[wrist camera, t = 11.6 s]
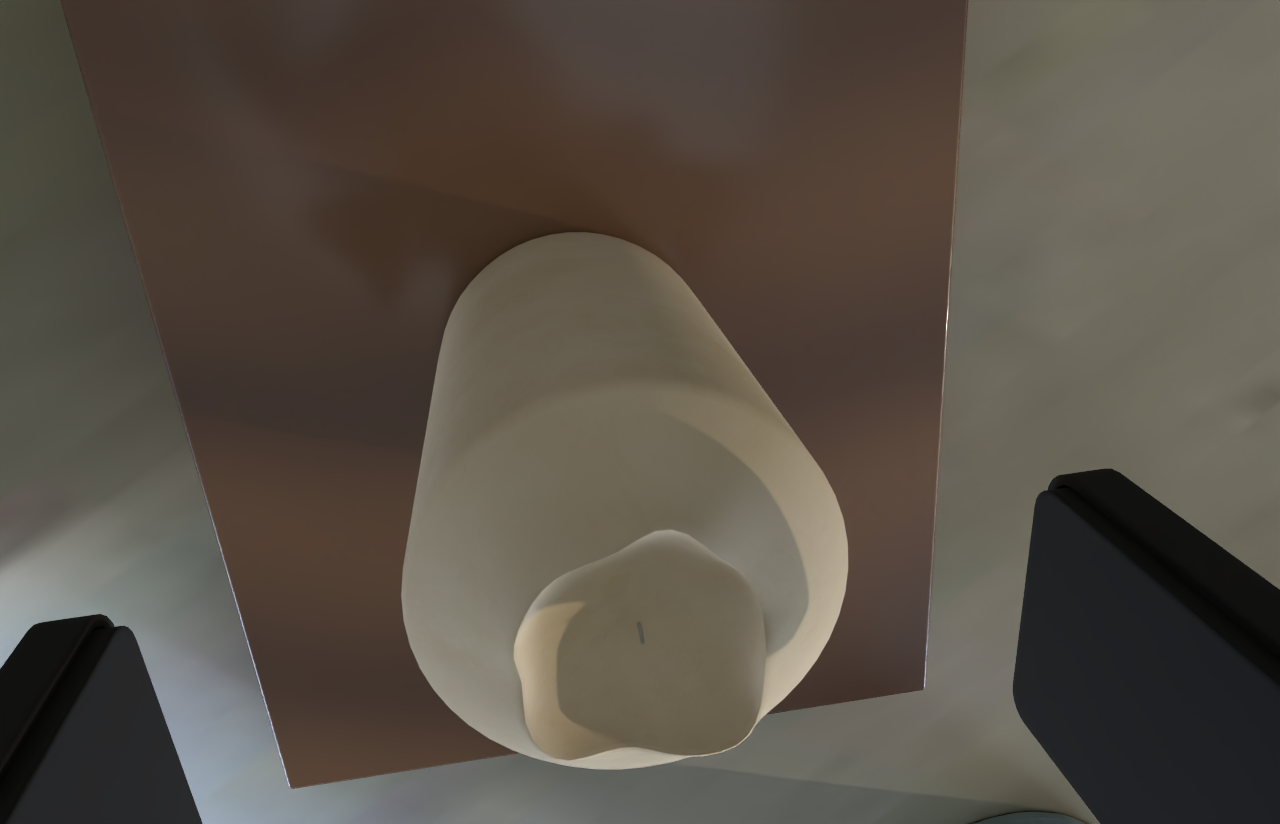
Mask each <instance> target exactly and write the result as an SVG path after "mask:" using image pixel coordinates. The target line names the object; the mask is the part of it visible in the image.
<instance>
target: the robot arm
mask: <svg viewBox="0 0 1280 824" xmlns="http://www.w3.org/2000/svg"><path fill="white" fill-rule="evenodd" d="M1013 696H1014V701H1015V705H1016V708H1017V711H1018V713H1019V715H1020V717H1021V719H1022V720H1023V722H1024V723H1025V725H1026V726H1027V727H1028V729H1029V730H1030V731H1031V733H1032V734H1033V735H1034V737H1035V738H1036V739H1037V741H1038V742H1039V743H1040V745H1041V746H1042V747H1043V748H1044V750H1045V751H1046V752H1047V754H1048V755H1049V756H1050V758H1051V759H1052V760H1053V762H1054V763H1055V764H1056V766H1057V767H1058V768H1059V770H1060V771H1061V772H1062V773H1063V775H1064V776H1065V777H1066V779H1067V780H1068V781H1069V783H1070V784H1071V785H1072V787H1073V788H1074V789H1075V791H1076V792H1077V793H1078V795H1079V796H1080V797H1081V799H1082V800H1083V801H1084V802H1085V804H1086V805H1087V806H1088V808H1089V809H1090V810H1091V812H1092V813H1093V814H1094V816H1095V817H1096V818H1097V820H1098V821H1099V822H1100V824H1280V590H1279V589H1278V588H1277V587H1275V586H1274V585H1272V584H1271V583H1270V582H1268V581H1267V580H1266V579H1264V578H1263V577H1261V576H1260V575H1259V574H1257V573H1256V572H1255V571H1253V570H1252V569H1251V568H1249V567H1248V566H1246V565H1245V564H1244V563H1242V562H1241V561H1240V560H1238V559H1237V558H1236V557H1234V556H1233V555H1231V554H1230V553H1229V552H1227V551H1226V550H1225V549H1223V548H1222V547H1221V546H1219V545H1218V544H1216V543H1215V542H1214V541H1212V540H1211V539H1210V538H1208V537H1207V536H1206V535H1204V534H1203V533H1201V532H1200V531H1199V530H1197V529H1196V528H1195V527H1193V526H1192V525H1190V524H1189V523H1188V522H1186V521H1185V520H1184V519H1182V518H1181V517H1180V516H1178V515H1177V514H1175V513H1174V512H1173V511H1171V510H1170V509H1169V508H1167V507H1166V506H1165V505H1163V504H1162V503H1160V502H1159V501H1158V500H1156V499H1155V498H1154V497H1152V496H1151V495H1150V494H1148V493H1147V492H1145V491H1144V490H1143V489H1141V488H1140V487H1139V486H1137V485H1136V484H1134V483H1133V482H1132V481H1130V480H1129V479H1128V478H1126V477H1125V476H1124V475H1122V474H1121V473H1119V472H1117V471H1115V470H1113V469H1099V470H1092V471H1085V472H1078V473H1071V474H1065V475H1059V476H1057V477H1055V478H1054V479H1053V480H1052V481H1051V483H1050V485H1049V487H1048V490H1047V491H1043V492H1041V493H1040V494H1039V495H1038V497H1037V499H1036V503H1035V508H1034V516H1033V525H1032V533H1031V541H1030V549H1029V558H1028V566H1027V574H1026V582H1025V590H1024V599H1023V607H1022V615H1021V623H1020V631H1019V640H1018V648H1017V656H1016V664H1015V672H1014V681H1013ZM0 824H202V821H201V818H200V816H199V813H198V810H197V807H196V805H195V802H194V799H193V796H192V793H191V791H190V788H189V785H188V782H187V780H186V777H185V774H184V771H183V768H182V766H181V763H180V760H179V757H178V754H177V752H176V749H175V746H174V743H173V741H172V738H171V735H170V732H169V729H168V727H167V724H166V721H165V718H164V716H163V713H162V710H161V707H160V704H159V702H158V699H157V696H156V693H155V691H154V688H153V685H152V682H151V679H150V677H149V674H148V671H147V668H146V666H145V663H144V660H143V657H142V654H141V652H140V649H139V646H138V643H137V640H136V638H135V636H134V634H133V632H132V631H131V630H130V629H129V628H128V627H126V626H119V627H114V625H113V622H112V621H111V620H110V619H109V618H108V617H107V616H104V615H102V614H97V615H90V616H83V617H76V618H69V619H62V620H55V621H48V622H42V623H38V624H35V625H33V626H32V627H31V628H30V629H29V630H28V631H27V633H26V634H25V635H24V637H23V638H22V640H21V641H20V642H19V644H18V645H17V647H16V648H15V649H14V651H13V652H12V654H11V655H10V656H9V658H8V659H7V661H6V662H5V663H4V665H3V666H2V668H1V669H0Z"/></svg>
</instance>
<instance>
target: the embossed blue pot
mask: <svg viewBox="0 0 1280 824" xmlns="http://www.w3.org/2000/svg"><path fill="white" fill-rule="evenodd" d="M974 824H1086V823H1084V822H1082V821H1079V820H1077V819H1074V818H1072V817H1069V816H1066V815H1063V814H1056V813H1047V812H1021V813H1012V814H1007V815H1002V816H998V817H993V818H989V819H986V820H983V821H980V822H977V823H974Z"/></svg>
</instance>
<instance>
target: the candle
mask: <svg viewBox="0 0 1280 824" xmlns="http://www.w3.org/2000/svg"><path fill="white" fill-rule="evenodd" d="M847 574H848V541H847V536H846V530H845V525H844V519H843V516H842V513H841V510H840V507H839V504H838V501H837V499H836V496H835V494H834V492H833V490H832V488H831V486H830V484H829V482H828V480H827V478H826V477H825V475H824V473H823V471H822V470H821V468H820V467H819V466H818V464H817V463H816V461H815V460H814V459H813V457H812V456H811V454H810V453H809V452H808V450H807V449H806V448H805V446H804V445H803V443H802V442H801V441H800V439H799V438H798V436H797V435H796V434H795V432H794V431H793V430H792V428H791V427H790V425H789V424H788V423H787V421H786V420H785V418H784V417H783V416H782V414H781V413H780V412H779V410H778V409H777V407H776V406H775V405H774V403H773V402H772V401H771V399H770V398H769V396H768V395H767V394H766V392H765V391H764V389H763V388H762V387H761V385H760V384H759V383H758V381H757V380H756V378H755V377H754V376H753V374H752V373H751V372H750V370H749V369H748V367H747V366H746V365H745V363H744V362H743V360H742V359H741V358H740V356H739V355H738V354H737V352H736V351H735V349H734V348H733V347H732V345H731V344H730V342H729V341H728V340H727V338H726V337H725V336H724V334H723V333H722V331H721V330H720V329H719V327H718V326H717V325H716V323H715V322H714V320H713V319H712V318H711V316H710V315H709V313H708V312H707V311H706V309H705V308H704V307H703V305H702V304H701V302H700V301H699V300H698V298H697V297H696V296H695V294H694V293H693V292H692V290H691V289H690V288H689V287H688V285H687V284H686V283H685V282H684V281H683V279H682V278H681V277H680V276H679V275H678V274H677V273H676V272H675V271H674V270H673V269H672V268H671V267H670V266H669V265H667V264H666V263H665V262H664V261H662V260H661V259H660V258H658V257H657V256H656V255H654V254H652V253H651V252H649V251H647V250H645V249H644V248H642V247H640V246H638V245H635V244H633V243H630V242H628V241H625V240H623V239H620V238H616V237H612V236H608V235H604V234H597V233H588V232H566V233H559V234H552V235H547V236H543V237H540V238H536V239H533V240H530V241H527V242H525V243H523V244H520V245H518V246H516V247H514V248H512V249H510V250H509V251H507V252H505V253H504V254H502V255H500V256H499V257H497V258H496V259H495V260H494V261H492V262H491V263H490V264H489V265H487V266H486V267H485V268H484V269H483V270H482V271H481V272H480V273H479V274H478V275H477V276H476V277H475V278H474V279H473V280H472V281H471V282H470V284H469V285H468V286H467V288H466V289H465V290H464V292H463V293H462V294H461V296H460V297H459V299H458V301H457V303H456V305H455V307H454V308H453V310H452V312H451V314H450V317H449V320H448V323H447V325H446V328H445V331H444V336H443V340H442V344H441V349H440V353H439V358H438V363H437V369H436V375H435V381H434V387H433V393H432V399H431V405H430V411H429V416H428V422H427V428H426V434H425V440H424V446H423V452H422V458H421V464H420V470H419V476H418V481H417V487H416V493H415V499H414V505H413V511H412V517H411V523H410V529H409V535H408V541H407V547H406V553H405V559H404V565H403V575H402V591H401V598H402V609H403V619H404V624H405V628H406V632H407V636H408V640H409V643H410V647H411V649H412V651H413V653H414V656H415V658H416V660H417V663H418V665H419V667H420V669H421V671H422V672H423V674H424V675H425V677H426V679H427V680H428V682H429V683H430V685H431V687H432V688H433V690H434V691H435V692H436V693H437V694H438V695H439V697H440V698H441V699H442V700H443V701H444V702H445V704H446V705H447V706H448V707H449V708H450V709H451V710H452V711H453V712H454V713H456V714H457V715H458V716H459V717H460V718H461V719H462V720H464V721H465V722H466V723H467V724H468V725H469V726H471V727H472V728H474V729H475V730H477V731H478V732H480V733H482V734H483V735H485V736H486V737H488V738H489V739H491V740H493V741H495V742H497V743H499V744H501V745H503V746H505V747H507V748H509V749H511V750H513V751H516V752H519V753H522V754H524V755H527V756H530V757H533V758H536V759H539V760H543V761H548V762H552V763H557V764H561V765H565V766H572V767H580V768H589V769H630V768H641V767H648V766H654V765H659V764H665V763H670V762H674V761H677V760H681V759H684V758H688V757H696V756H706V755H712V754H717V753H722V752H724V751H727V750H729V749H731V748H734V747H736V746H738V745H739V744H740V743H741V742H743V741H744V740H745V739H746V738H747V737H748V736H749V735H750V734H751V732H752V731H753V729H754V727H755V726H756V724H757V723H758V722H759V721H760V720H761V719H762V718H763V717H764V716H765V715H766V714H767V713H768V712H769V711H770V710H771V709H773V708H774V707H775V706H776V705H777V704H779V703H780V702H781V701H782V700H783V699H784V698H785V697H786V696H787V695H788V694H789V693H790V692H791V691H792V690H793V689H794V688H795V687H796V686H797V685H798V683H799V682H800V681H801V680H802V679H803V678H804V676H805V675H806V674H807V672H808V671H809V670H810V668H811V667H812V666H813V664H814V663H815V662H816V660H817V659H818V657H819V655H820V654H821V652H822V650H823V648H824V647H825V645H826V643H827V641H828V640H829V638H830V636H831V633H832V631H833V628H834V626H835V624H836V621H837V619H838V616H839V613H840V610H841V606H842V602H843V598H844V595H845V591H846V582H847Z"/></svg>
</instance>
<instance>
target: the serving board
mask: <svg viewBox="0 0 1280 824" xmlns="http://www.w3.org/2000/svg"><path fill="white" fill-rule="evenodd" d="M60 1H61V4H62V8H63V11H64V14H65V18H66V21H67V25H68V28H69V32H70V35H71V39H72V42H73V45H74V49H75V52H76V56H77V59H78V63H79V66H80V70H81V73H82V76H83V80H84V83H85V87H86V90H87V94H88V97H89V100H90V104H91V107H92V111H93V114H94V118H95V121H96V125H97V128H98V131H99V135H100V138H101V142H102V145H103V149H104V152H105V156H106V159H107V162H108V166H109V169H110V173H111V176H112V180H113V183H114V187H115V190H116V193H117V197H118V200H119V204H120V207H121V211H122V214H123V218H124V221H125V224H126V228H127V231H128V235H129V238H130V242H131V245H132V248H133V252H134V255H135V259H136V262H137V266H138V269H139V273H140V276H141V279H142V283H143V286H144V290H145V293H146V297H147V300H148V304H149V307H150V310H151V314H152V317H153V321H154V324H155V328H156V331H157V335H158V338H159V341H160V345H161V348H162V352H163V355H164V359H165V362H166V366H167V369H168V372H169V376H170V379H171V383H172V386H173V390H174V393H175V397H176V400H177V403H178V407H179V410H180V414H181V417H182V421H183V424H184V427H185V431H186V434H187V438H188V441H189V445H190V448H191V452H192V455H193V458H194V462H195V465H196V469H197V472H198V476H199V479H200V483H201V486H202V489H203V493H204V496H205V500H206V503H207V507H208V510H209V514H210V517H211V520H212V524H213V527H214V531H215V534H216V538H217V541H218V545H219V548H220V551H221V555H222V558H223V562H224V565H225V569H226V572H227V576H228V579H229V582H230V586H231V589H232V593H233V596H234V600H235V603H236V606H237V610H238V613H239V617H240V620H241V624H242V627H243V631H244V634H245V637H246V641H247V644H248V648H249V651H250V655H251V658H252V662H253V665H254V668H255V672H256V675H257V679H258V682H259V686H260V689H261V693H262V696H263V699H264V703H265V706H266V710H267V713H268V717H269V720H270V724H271V727H272V730H273V734H274V737H275V741H276V744H277V748H278V751H279V755H280V758H281V761H282V765H283V768H284V772H285V775H286V779H287V782H288V785H289V788H291V789H294V788H301V787H307V786H314V785H320V784H326V783H333V782H339V781H345V780H352V779H358V778H365V777H371V776H377V775H384V774H390V773H396V772H403V771H409V770H416V769H422V768H428V767H435V766H441V765H447V764H454V763H460V762H466V761H473V760H479V759H486V758H492V757H498V756H505V755H511V754H517V753H519V752H516V751H513V750H511V749H509V748H507V747H505V746H503V745H501V744H499V743H497V742H495V741H493V740H491V739H489V738H488V737H486V736H485V735H483V734H482V733H480V732H478V731H477V730H475V729H474V728H472V727H471V726H469V725H468V724H467V723H466V722H465V721H464V720H462V719H461V718H460V717H459V716H458V715H457V714H456V713H454V712H453V711H452V710H451V709H450V708H449V707H448V706H447V705H446V704H445V702H444V701H443V700H442V699H441V698H440V697H439V695H438V694H437V693H436V692H435V691H434V690H433V688H432V687H431V685H430V683H429V682H428V680H427V679H426V677H425V675H424V674H423V672H422V671H421V669H420V667H419V665H418V663H417V660H416V658H415V656H414V653H413V651H412V649H411V647H410V643H409V640H408V636H407V632H406V628H405V624H404V619H403V609H402V598H401V591H402V575H403V565H404V559H405V553H406V547H407V541H408V535H409V529H410V523H411V517H412V511H413V505H414V499H415V493H416V487H417V481H418V476H419V470H420V464H421V458H422V452H423V446H424V440H425V434H426V428H427V422H428V416H429V411H430V405H431V399H432V393H433V387H434V381H435V375H436V369H437V363H438V358H439V353H440V349H441V344H442V340H443V336H444V331H445V328H446V325H447V323H448V320H449V317H450V314H451V312H452V310H453V308H454V307H455V305H456V303H457V301H458V299H459V297H460V296H461V294H462V293H463V292H464V290H465V289H466V288H467V286H468V285H469V284H470V282H471V281H472V280H473V279H474V278H475V277H476V276H477V275H478V274H479V273H480V272H481V271H482V270H483V269H484V268H485V267H486V266H487V265H489V264H490V263H491V262H492V261H494V260H495V259H496V258H497V257H499V256H500V255H502V254H504V253H505V252H507V251H509V250H510V249H512V248H514V247H516V246H518V245H520V244H523V243H525V242H527V241H530V240H533V239H536V238H540V237H543V236H547V235H552V234H559V233H566V232H588V233H597V234H604V235H608V236H612V237H616V238H620V239H623V240H625V241H628V242H630V243H633V244H635V245H638V246H640V247H642V248H644V249H645V250H647V251H649V252H651V253H652V254H654V255H656V256H657V257H658V258H660V259H661V260H662V261H664V262H665V263H666V264H667V265H669V266H670V267H671V268H672V269H673V270H674V271H675V272H676V273H677V274H678V275H679V276H680V277H681V278H682V279H683V281H684V282H685V283H686V284H687V285H688V287H689V288H690V289H691V290H692V292H693V293H694V294H695V296H696V297H697V298H698V300H699V301H700V302H701V304H702V305H703V307H704V308H705V309H706V311H707V312H708V313H709V315H710V316H711V318H712V319H713V320H714V322H715V323H716V325H717V326H718V327H719V329H720V330H721V331H722V333H723V334H724V336H725V337H726V338H727V340H728V341H729V342H730V344H731V345H732V347H733V348H734V349H735V351H736V352H737V354H738V355H739V356H740V358H741V359H742V360H743V362H744V363H745V365H746V366H747V367H748V369H749V370H750V372H751V373H752V374H753V376H754V377H755V378H756V380H757V381H758V383H759V384H760V385H761V387H762V388H763V389H764V391H765V392H766V394H767V395H768V396H769V398H770V399H771V401H772V402H773V403H774V405H775V406H776V407H777V409H778V410H779V412H780V413H781V414H782V416H783V417H784V418H785V420H786V421H787V423H788V424H789V425H790V427H791V428H792V430H793V431H794V432H795V434H796V435H797V436H798V438H799V439H800V441H801V442H802V443H803V445H804V446H805V448H806V449H807V450H808V452H809V453H810V454H811V456H812V457H813V459H814V460H815V461H816V463H817V464H818V466H819V467H820V468H821V470H822V471H823V473H824V475H825V477H826V478H827V480H828V482H829V484H830V486H831V488H832V490H833V492H834V494H835V496H836V499H837V501H838V504H839V507H840V510H841V513H842V516H843V519H844V525H845V530H846V536H847V541H848V574H847V582H846V591H845V595H844V598H843V602H842V606H841V610H840V613H839V616H838V619H837V621H836V624H835V626H834V628H833V631H832V633H831V636H830V638H829V640H828V641H827V643H826V645H825V647H824V648H823V650H822V652H821V654H820V655H819V657H818V659H817V660H816V662H815V663H814V664H813V666H812V667H811V668H810V670H809V671H808V672H807V674H806V675H805V676H804V678H803V679H802V680H801V681H800V682H799V683H798V685H797V686H796V687H795V688H794V689H793V690H792V691H791V692H790V693H789V694H788V695H787V696H786V697H785V698H784V699H783V700H782V701H781V702H780V703H779V704H777V705H776V706H775V707H774V708H773V709H771V710H770V711H769V712H768V713H767V714H772V713H779V712H785V711H791V710H798V709H804V708H810V707H817V706H823V705H830V704H836V703H842V702H849V701H855V700H861V699H868V698H874V697H881V696H887V695H893V694H900V693H906V692H912V691H919V690H923V689H925V685H926V669H927V653H928V637H929V621H930V605H931V589H932V573H933V557H934V541H935V525H936V509H937V493H938V476H939V460H940V444H941V428H942V412H943V396H944V380H945V364H946V348H947V332H948V316H949V300H950V284H951V267H952V251H953V235H954V219H955V203H956V187H957V171H958V155H959V139H960V123H961V107H962V91H963V75H964V59H965V42H966V26H967V10H968V0H60Z"/></svg>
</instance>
